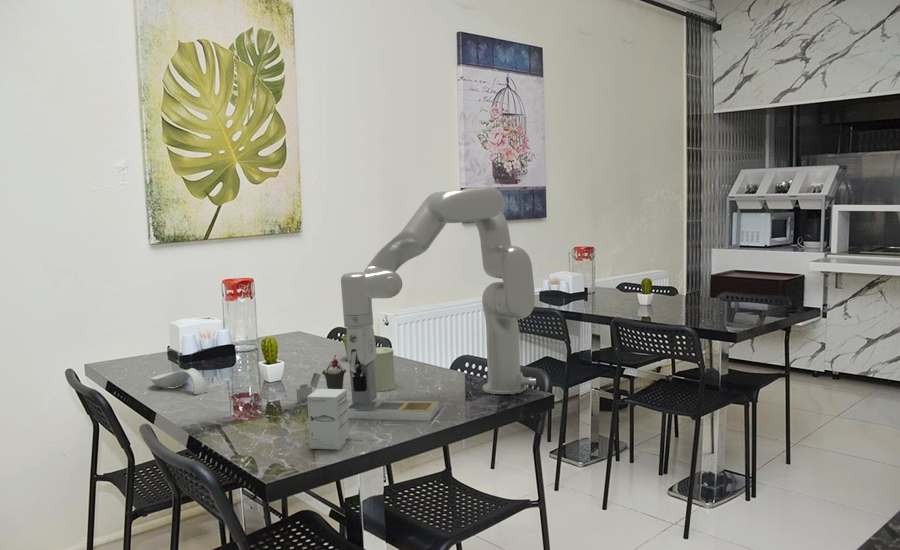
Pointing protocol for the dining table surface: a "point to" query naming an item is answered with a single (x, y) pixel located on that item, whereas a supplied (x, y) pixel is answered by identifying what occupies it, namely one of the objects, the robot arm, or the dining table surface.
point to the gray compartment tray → (393, 410)
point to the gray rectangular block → (370, 385)
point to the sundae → (334, 375)
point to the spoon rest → (181, 380)
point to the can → (384, 369)
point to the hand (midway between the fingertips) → (363, 387)
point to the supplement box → (328, 418)
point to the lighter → (307, 389)
